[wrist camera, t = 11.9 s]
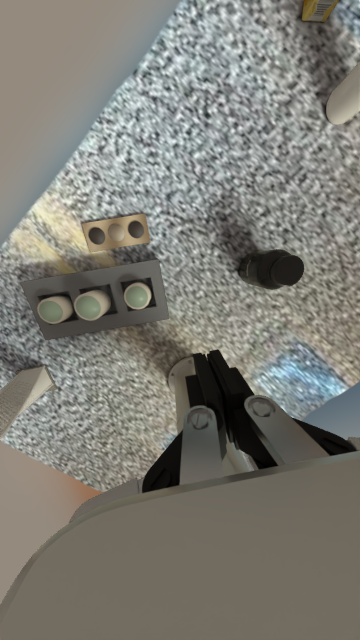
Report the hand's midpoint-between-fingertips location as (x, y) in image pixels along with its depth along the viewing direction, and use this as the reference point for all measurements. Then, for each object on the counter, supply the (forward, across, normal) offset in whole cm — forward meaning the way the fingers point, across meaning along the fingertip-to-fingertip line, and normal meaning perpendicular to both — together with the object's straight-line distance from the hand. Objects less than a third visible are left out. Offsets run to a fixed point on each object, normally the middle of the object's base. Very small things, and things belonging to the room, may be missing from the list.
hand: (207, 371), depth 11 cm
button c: (+28, +24, -2) cm, 37 cm away
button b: (+25, +16, -2) cm, 30 cm away
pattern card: (+29, +10, -14) cm, 34 cm away
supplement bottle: (+29, -17, -3) cm, 34 cm away
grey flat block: (+29, +16, -2) cm, 33 cm away
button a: (+28, +8, -2) cm, 29 cm away
